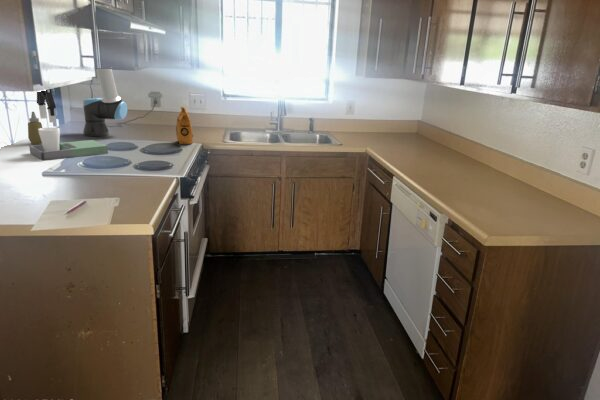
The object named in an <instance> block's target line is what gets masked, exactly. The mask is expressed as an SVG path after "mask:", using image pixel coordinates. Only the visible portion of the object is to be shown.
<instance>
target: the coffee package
mask: <svg viewBox="0 0 600 400" xmlns="http://www.w3.org/2000/svg"><path fill="white" fill-rule="evenodd" d="M180 109H181V111H180V112H179V114H178V115H177V118H176V127H175V133H176V139H177V142H178V143H179V144H180V145H191V144H193V141H194V135H193V126H192V123H191V119H190V115H189V114H188V111H187V110H186V107H185V106H181V107H180Z"/></svg>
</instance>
